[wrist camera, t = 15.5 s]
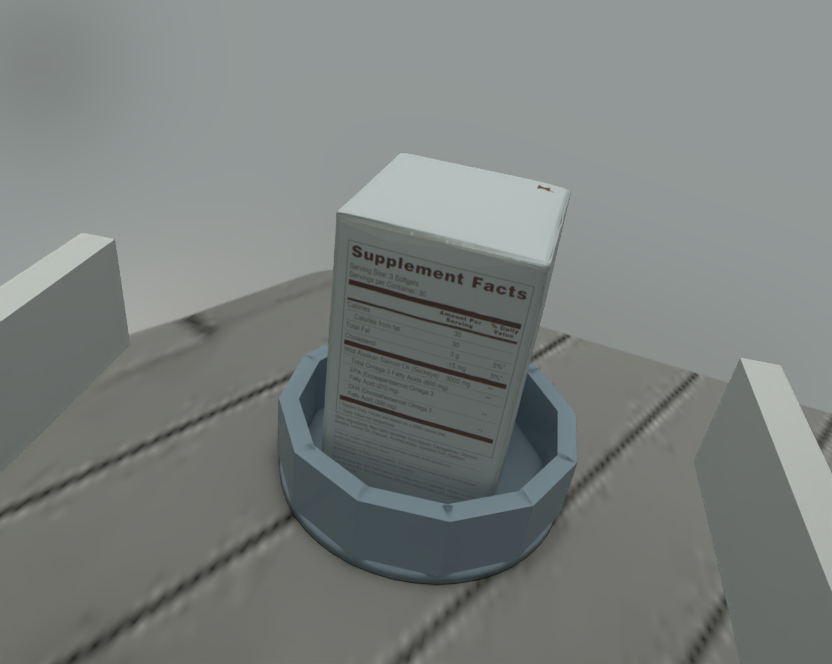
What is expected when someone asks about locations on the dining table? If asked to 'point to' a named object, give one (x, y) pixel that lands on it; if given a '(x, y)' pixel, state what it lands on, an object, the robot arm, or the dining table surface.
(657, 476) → the dining table surface
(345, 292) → the supplement box
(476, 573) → the bowl
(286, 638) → the dining table surface
